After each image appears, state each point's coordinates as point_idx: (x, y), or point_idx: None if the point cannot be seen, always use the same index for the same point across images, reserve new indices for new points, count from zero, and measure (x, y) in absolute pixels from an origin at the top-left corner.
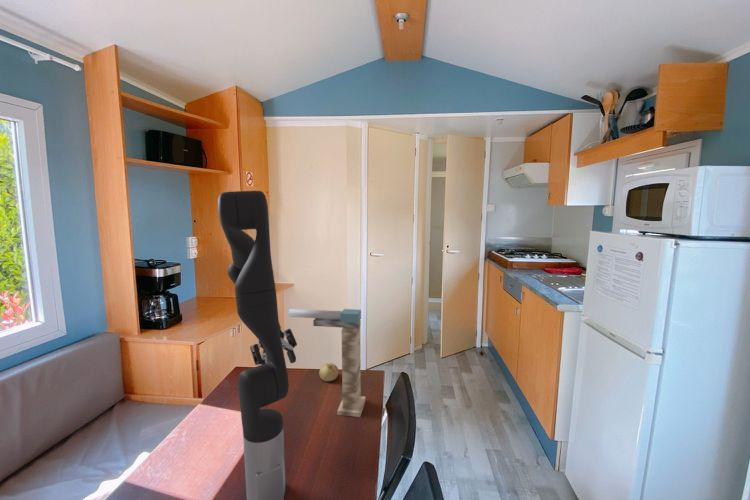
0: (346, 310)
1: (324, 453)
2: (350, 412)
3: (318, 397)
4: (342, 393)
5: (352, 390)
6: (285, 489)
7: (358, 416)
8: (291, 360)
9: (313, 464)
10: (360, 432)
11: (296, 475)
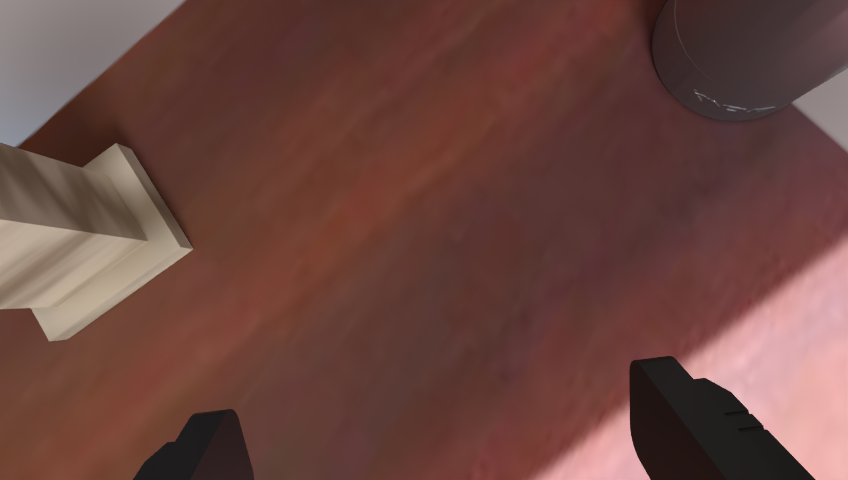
0: None
1: (419, 68)
2: (144, 186)
3: None
4: (81, 230)
5: (25, 169)
6: (664, 5)
7: (134, 156)
8: (233, 477)
9: (494, 47)
10: (213, 61)
11: (584, 45)
